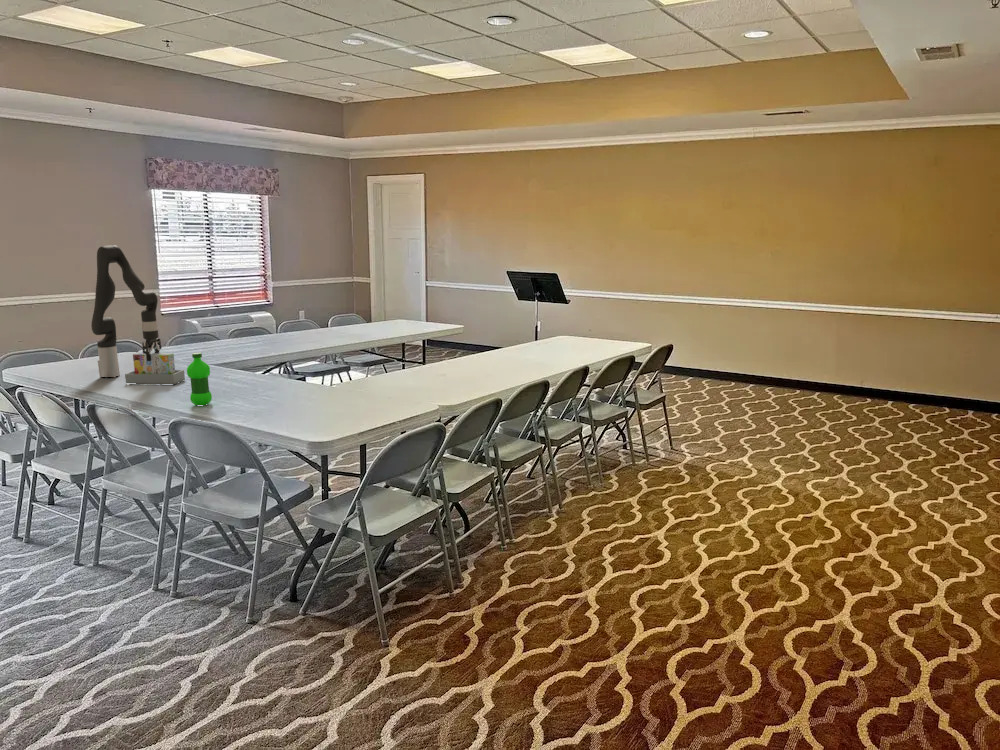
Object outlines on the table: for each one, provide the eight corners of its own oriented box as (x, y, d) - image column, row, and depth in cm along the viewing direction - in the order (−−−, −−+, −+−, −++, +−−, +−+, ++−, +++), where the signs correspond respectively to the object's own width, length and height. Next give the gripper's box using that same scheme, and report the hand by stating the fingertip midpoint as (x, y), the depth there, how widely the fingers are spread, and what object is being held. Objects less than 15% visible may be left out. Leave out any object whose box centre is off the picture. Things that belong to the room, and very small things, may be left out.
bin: (126, 384, 394) (124, 374, 393) (138, 379, 405) (137, 369, 404) (174, 385, 392) (173, 374, 391) (185, 380, 403) (183, 370, 402)
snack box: (176, 380, 400) (174, 353, 396) (170, 382, 394) (167, 355, 391) (141, 379, 403) (138, 352, 400) (134, 381, 398) (131, 353, 395)
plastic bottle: (194, 402, 356) (188, 351, 350) (216, 402, 356) (211, 351, 351) (186, 408, 346) (181, 355, 341) (209, 407, 347) (204, 355, 341)
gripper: (149, 331, 385) (153, 362, 389) (163, 327, 399) (167, 357, 403) (135, 331, 386) (139, 362, 389) (150, 327, 400) (153, 356, 403)
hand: (153, 359), depth 396 cm, fingers open, 8 cm apart
